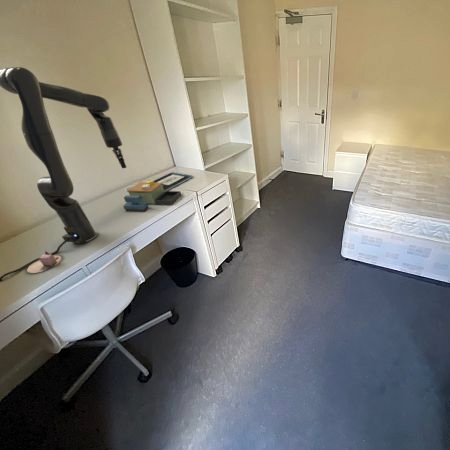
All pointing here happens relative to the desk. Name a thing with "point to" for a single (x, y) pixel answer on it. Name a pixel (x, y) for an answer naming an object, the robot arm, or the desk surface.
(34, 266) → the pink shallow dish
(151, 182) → the scrap yellow
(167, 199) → the tray
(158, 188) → the cabinet
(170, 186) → the sketchbook
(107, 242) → the desk surface
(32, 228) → the desk surface
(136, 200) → the brush
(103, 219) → the desk surface
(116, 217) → the desk surface
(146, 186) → the scrap white
